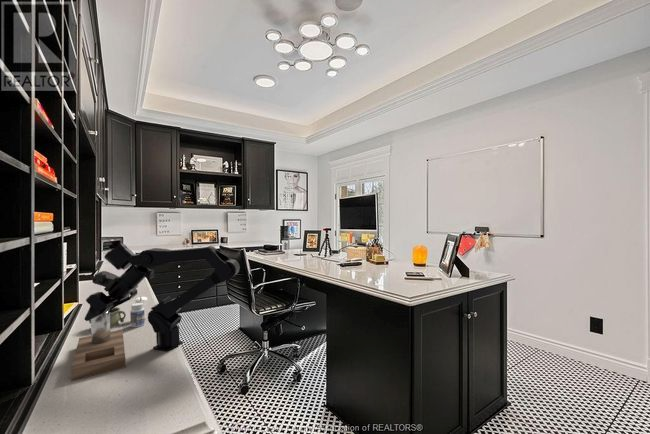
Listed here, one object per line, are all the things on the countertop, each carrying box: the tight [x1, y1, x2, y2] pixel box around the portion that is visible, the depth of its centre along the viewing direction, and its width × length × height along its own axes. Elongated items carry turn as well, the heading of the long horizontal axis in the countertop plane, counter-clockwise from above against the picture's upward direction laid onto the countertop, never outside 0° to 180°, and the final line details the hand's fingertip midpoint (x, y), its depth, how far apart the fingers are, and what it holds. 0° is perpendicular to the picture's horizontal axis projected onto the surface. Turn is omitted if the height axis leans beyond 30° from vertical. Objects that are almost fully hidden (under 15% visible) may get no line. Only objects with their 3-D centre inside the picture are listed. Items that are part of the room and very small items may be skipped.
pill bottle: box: [129, 303, 146, 328], centre depth 122 cm, size 5×5×8 cm
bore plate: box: [70, 329, 126, 381], centre depth 96 cm, size 26×12×3 cm, turn 35°
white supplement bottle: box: [134, 296, 149, 320], centre depth 130 cm, size 4×5×10 cm
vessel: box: [88, 306, 127, 330], centre depth 122 cm, size 12×9×6 cm
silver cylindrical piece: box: [90, 309, 111, 344], centre depth 100 cm, size 5×5×11 cm
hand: (95, 315), depth 100 cm, fingers open, 9 cm apart
